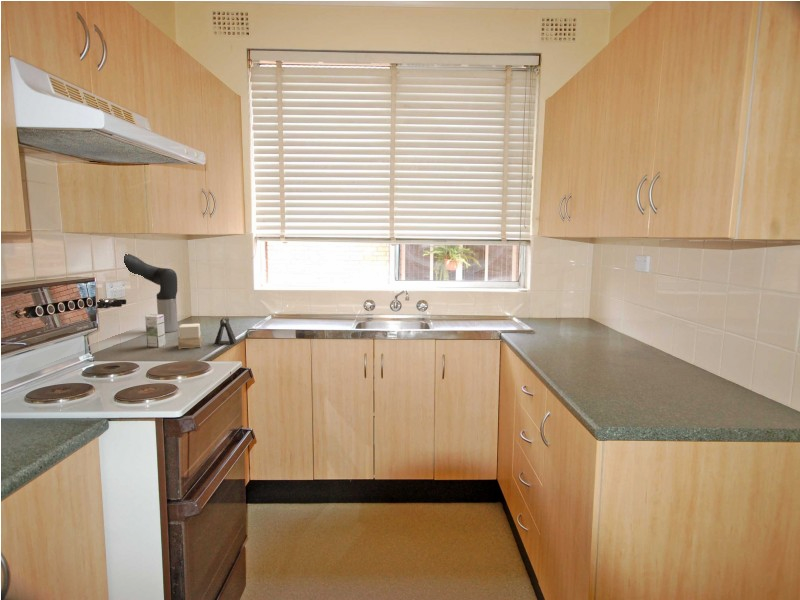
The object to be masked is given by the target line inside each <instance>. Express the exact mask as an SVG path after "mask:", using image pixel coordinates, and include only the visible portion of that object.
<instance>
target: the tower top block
mask: <svg viewBox="0 0 800 600" xmlns="http://www.w3.org/2000/svg"><path fill="white" fill-rule="evenodd" d="M178 333H179V336H180V338H196V337H199V336H200V334H201V324H200V323H183V324H182V323H181V324H180V325H179V326H178ZM179 336H178V337H179Z"/></svg>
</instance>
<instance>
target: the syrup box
mask: <svg viewBox="0 0 800 600" xmlns="http://www.w3.org/2000/svg"><path fill="white" fill-rule="evenodd" d="M144 320H145V332H146V346H147V347H148V348H162V347H163V345H164V346H166V336H165V333H166V332H165V330H164V315H163V314H158V313H156V314H154V313H153V314H152V313H150V314H147V315H145V316H144Z"/></svg>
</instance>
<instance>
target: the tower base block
mask: <svg viewBox="0 0 800 600" xmlns="http://www.w3.org/2000/svg"><path fill="white" fill-rule="evenodd" d="M202 337H203V336H202V333H200V336H199V337H196V338H180V336H178V338H177V340H178V341H177V346H178V350H182V349H181V348H190V349H196V348H195V347H200V348H201V347H202V345H201V344H202V343H203V342H202Z"/></svg>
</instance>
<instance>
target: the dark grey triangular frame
mask: <svg viewBox="0 0 800 600" xmlns="http://www.w3.org/2000/svg"><path fill="white" fill-rule="evenodd" d="M219 324H220V325H219V328H218V331H217V335H216V338H215V340H214V345H215V344H220V345H235V343H236V342H237V338H236V336H235V334H234V332H233V329H232V327H231V324H230V319H229V317H228V316H226V317H225V316H224V317H223V318H221V319H220V321H219ZM224 328H225V331H226V334H227V336H228V340H222V337H223V333H224Z"/></svg>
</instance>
